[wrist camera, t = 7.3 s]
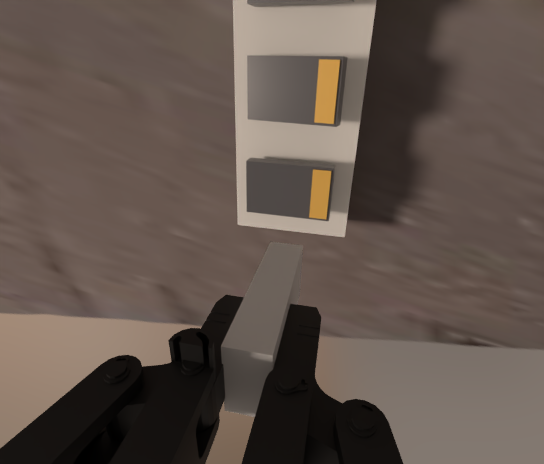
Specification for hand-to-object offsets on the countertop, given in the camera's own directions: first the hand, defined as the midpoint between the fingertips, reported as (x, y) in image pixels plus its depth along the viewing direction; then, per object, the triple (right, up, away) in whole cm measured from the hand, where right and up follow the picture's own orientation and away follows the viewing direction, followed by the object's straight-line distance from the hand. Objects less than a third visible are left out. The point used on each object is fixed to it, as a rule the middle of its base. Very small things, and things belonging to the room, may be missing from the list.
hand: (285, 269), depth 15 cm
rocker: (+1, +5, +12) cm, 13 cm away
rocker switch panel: (+2, +17, +12) cm, 21 cm away
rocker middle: (+1, +12, +9) cm, 15 cm away
